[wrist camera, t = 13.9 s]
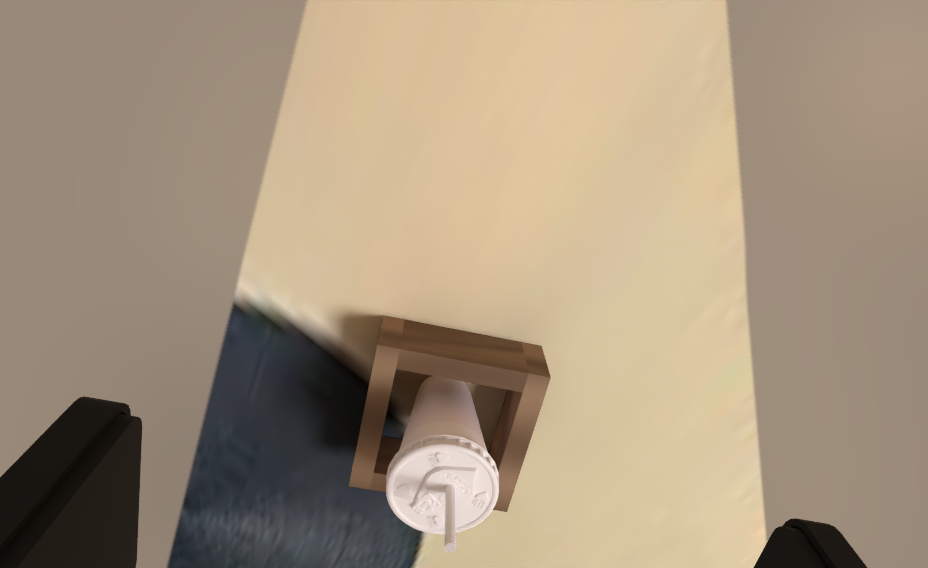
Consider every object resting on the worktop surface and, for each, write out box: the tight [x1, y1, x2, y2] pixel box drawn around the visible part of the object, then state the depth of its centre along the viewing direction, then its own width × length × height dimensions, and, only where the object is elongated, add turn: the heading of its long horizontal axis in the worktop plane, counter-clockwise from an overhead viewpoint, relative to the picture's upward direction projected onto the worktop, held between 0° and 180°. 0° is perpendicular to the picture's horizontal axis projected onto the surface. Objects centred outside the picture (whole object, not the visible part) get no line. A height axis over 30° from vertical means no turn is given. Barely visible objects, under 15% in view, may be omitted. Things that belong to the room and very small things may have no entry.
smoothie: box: [386, 376, 499, 552], centre depth 37 cm, size 6×6×14 cm
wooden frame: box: [349, 316, 551, 512], centre depth 42 cm, size 11×11×4 cm
